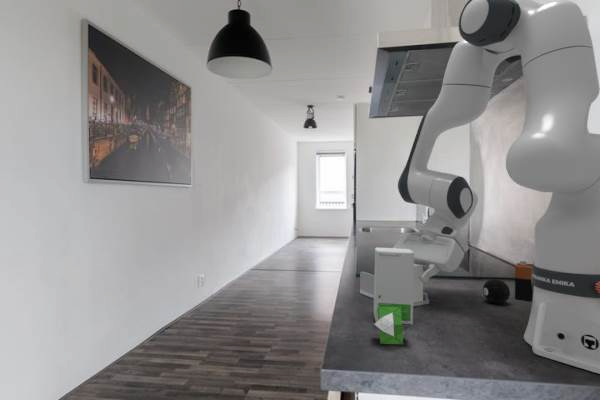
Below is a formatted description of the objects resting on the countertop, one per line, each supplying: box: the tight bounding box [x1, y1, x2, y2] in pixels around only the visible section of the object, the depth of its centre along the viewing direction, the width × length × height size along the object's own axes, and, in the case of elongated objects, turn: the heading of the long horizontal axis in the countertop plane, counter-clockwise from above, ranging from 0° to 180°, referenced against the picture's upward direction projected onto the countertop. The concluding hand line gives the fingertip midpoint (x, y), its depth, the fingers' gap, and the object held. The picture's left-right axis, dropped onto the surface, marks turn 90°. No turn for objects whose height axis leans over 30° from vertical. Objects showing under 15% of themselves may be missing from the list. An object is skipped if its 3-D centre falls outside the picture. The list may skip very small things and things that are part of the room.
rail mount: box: [359, 271, 430, 307], centre depth 99 cm, size 16×10×6 cm, turn 26°
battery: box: [514, 260, 534, 302], centre depth 97 cm, size 4×7×10 cm, turn 53°
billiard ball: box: [482, 278, 511, 304], centre depth 94 cm, size 6×6×6 cm
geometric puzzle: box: [371, 306, 412, 345], centre depth 69 cm, size 7×7×8 cm
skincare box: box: [373, 246, 414, 325], centre depth 82 cm, size 8×7×16 cm
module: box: [413, 263, 424, 302], centre depth 93 cm, size 4×6×10 cm, turn 116°
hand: (408, 276), depth 93 cm, fingers open, 8 cm apart
